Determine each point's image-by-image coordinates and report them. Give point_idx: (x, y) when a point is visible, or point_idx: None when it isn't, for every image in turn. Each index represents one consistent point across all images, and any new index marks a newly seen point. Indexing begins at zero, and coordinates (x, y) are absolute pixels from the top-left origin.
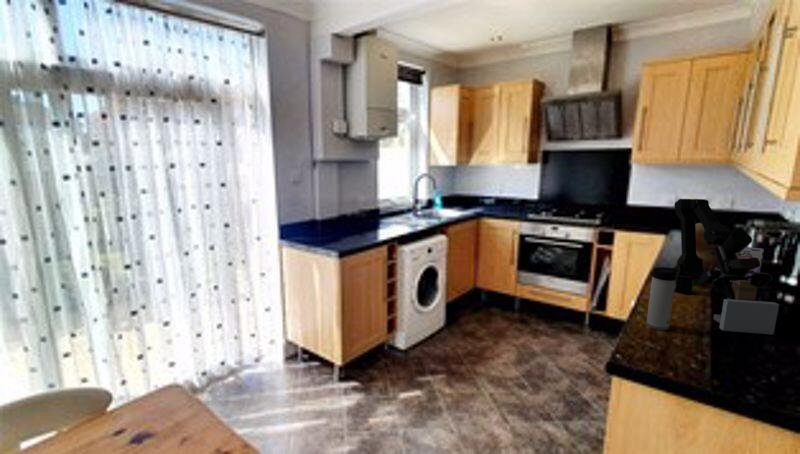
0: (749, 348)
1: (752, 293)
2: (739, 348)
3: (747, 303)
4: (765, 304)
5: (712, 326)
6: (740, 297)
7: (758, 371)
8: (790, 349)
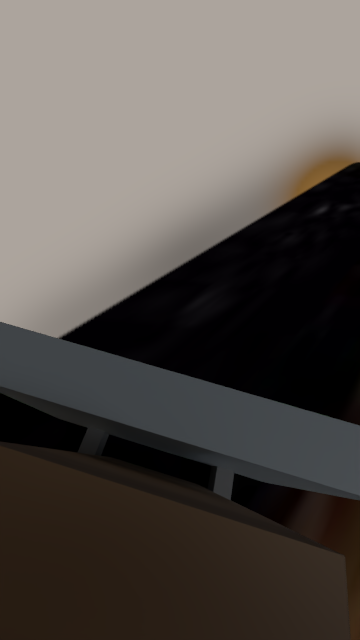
0: (274, 305)
1: (92, 462)
2: (305, 308)
3: (222, 388)
4: (89, 351)
5: (285, 507)
6: (219, 499)
7: (333, 227)
8: (151, 289)
